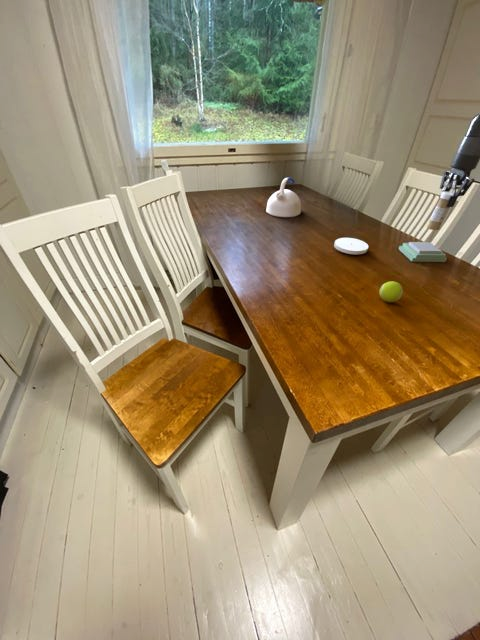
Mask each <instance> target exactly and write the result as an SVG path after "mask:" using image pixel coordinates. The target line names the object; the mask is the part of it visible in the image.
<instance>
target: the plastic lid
mask: <svg viewBox="0 0 480 640" xmlns="http://www.w3.org/2000/svg"><path fill="white" fill-rule="evenodd" d="M333 247H334V248H335V249H336V250H337V251H339V252H341V253H345V254H349V255H363V254H366V253H367V252H368V249H369V245H368V243H366V242H365V241H364V240H361V239H358V238H353V237H339V238H337V239H335V240H334V244H333Z"/></svg>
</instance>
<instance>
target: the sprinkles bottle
mask: <svg viewBox="0 0 480 640" xmlns="http://www.w3.org/2000/svg"><path fill="white" fill-rule="evenodd" d="M451 195H452V191H449V192H442V191H441V194H440V195H439V198H440V200H439V199H438V201H439V202H438V201H437V204H436V206H435V208H434V210H433V212H432V215H431V216H430V219H429V222H428V223H427V225H426V228H427V229H429V230H431V231H439V230H440V229H441V226H442V224H443V222H444V220H445V218H446V216H447V214H448V212H449V210H450V208H451V207H447V206H446V205H447V203H448V201H449V199H450V196H451Z"/></svg>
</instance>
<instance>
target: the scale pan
mask: <svg viewBox="0 0 480 640" xmlns="http://www.w3.org/2000/svg"><path fill="white" fill-rule="evenodd" d="M408 243H409V244H408V245H409V246H410V247H411V248H413V249H414V250H415V251H416V252H417V253H418V254H441V252H443V251H442V250H441V249H440V248H438V246H436V245H434V244H433V243H432V242H430V241H409V242H408Z"/></svg>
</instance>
